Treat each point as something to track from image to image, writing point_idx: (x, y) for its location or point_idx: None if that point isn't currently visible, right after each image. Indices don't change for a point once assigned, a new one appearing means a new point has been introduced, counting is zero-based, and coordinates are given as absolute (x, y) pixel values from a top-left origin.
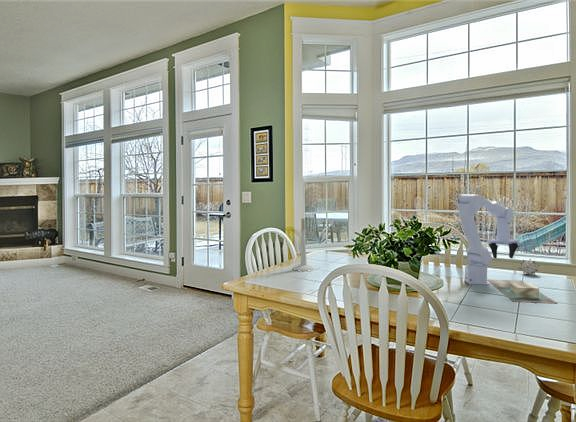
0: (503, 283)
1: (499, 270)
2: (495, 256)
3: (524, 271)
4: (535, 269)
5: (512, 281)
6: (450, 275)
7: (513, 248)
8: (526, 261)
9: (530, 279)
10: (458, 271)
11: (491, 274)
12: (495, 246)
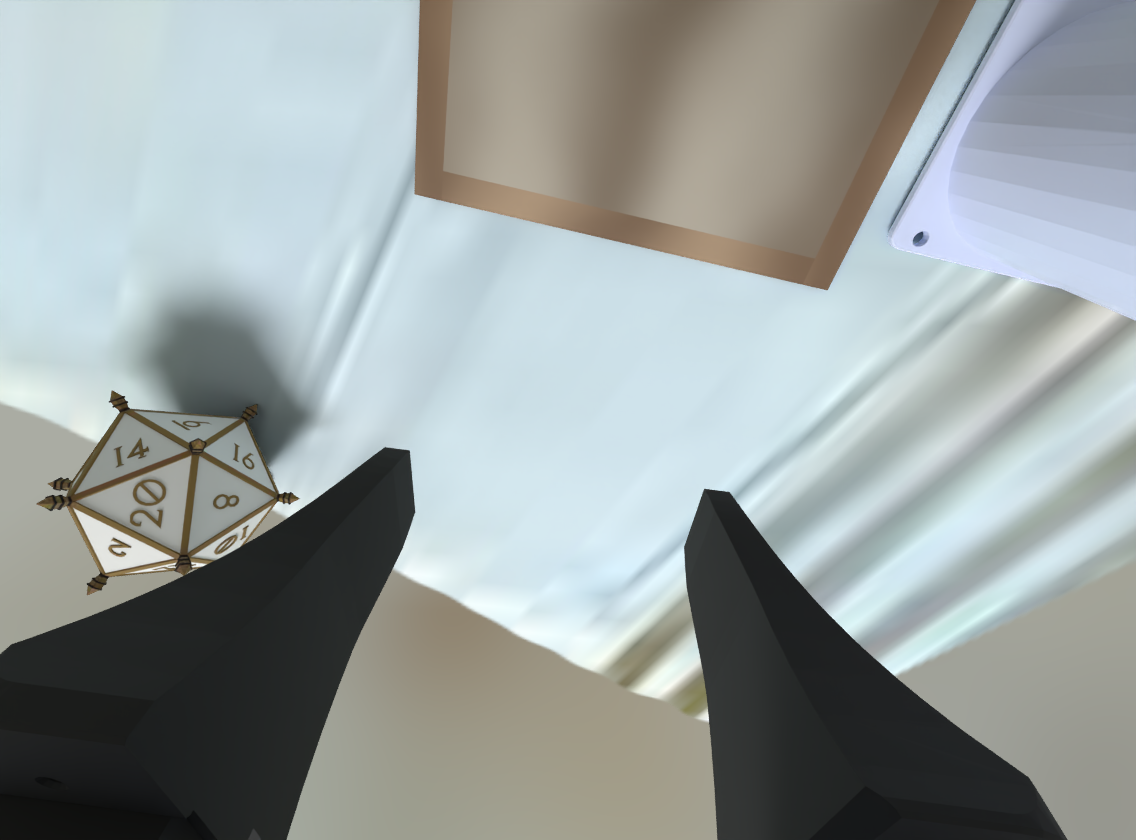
0: (751, 40)
1: (446, 574)
2: (742, 515)
3: (261, 453)
4: (129, 416)
5: (550, 155)
6: (1055, 490)
7: (246, 613)
8: (159, 537)
9: (277, 256)
10: (832, 590)
11: (596, 478)
12: (954, 773)
